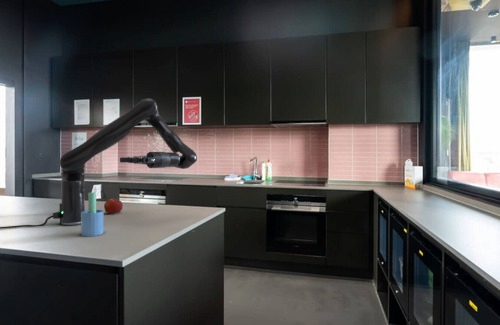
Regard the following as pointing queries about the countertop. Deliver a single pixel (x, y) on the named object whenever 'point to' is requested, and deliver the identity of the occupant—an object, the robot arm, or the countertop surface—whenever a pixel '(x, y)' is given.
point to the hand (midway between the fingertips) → (124, 160)
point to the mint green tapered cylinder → (92, 202)
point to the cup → (92, 223)
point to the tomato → (113, 206)
